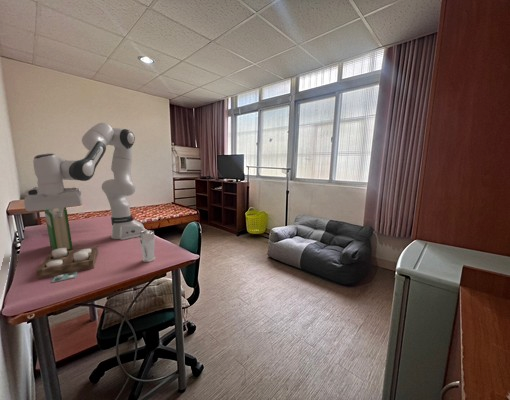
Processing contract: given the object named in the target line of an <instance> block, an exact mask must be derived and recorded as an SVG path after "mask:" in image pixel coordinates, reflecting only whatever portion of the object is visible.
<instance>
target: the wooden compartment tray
mask: <svg viewBox="0 0 510 400" xmlns="http://www.w3.org/2000/svg"><path fill="white" fill-rule="evenodd" d="M82 249H83V248H79V249H74V250H67V256H65V257H61V258H55V259H54V258H53V256H52V253H50V254H49V255H47V257H46V258H45V260H44V261H43V262H42V263H41V265H40V266H39V267H38V268H37V269H36V274H37V275H36V276H37V280H39V278H41V279H45V277H46V278H52V277H55V276H56V275H61V274H67V273H71V272H77V271H78V272H81V271H86V270H91V269H94V268H95V266H96V263H97V259H98V256H99V248H98V246H93V247H87V248H84V249H91V251H92V252H91V253H88V255H89V259H87V260H85V261H79V262H75V261H74V255H73V254H74V253H76V252H78V251H80V250H82ZM54 260H62V261H63V264H62V265H57V266H51V267H47V265H46V264H47V263H48V262H50V261H54Z"/></svg>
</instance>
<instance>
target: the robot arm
mask: <svg viewBox="0 0 510 400" xmlns="http://www.w3.org/2000/svg"><path fill="white" fill-rule="evenodd" d="M135 137H136V136H135V134H134V133H133V131H132V130H130V129H127V128H120V127H112V126H111V125H109V124H108V123H106V122H99V123H97V124H95V125H93V126H91V127H90V128H89V129H88V130H87V131H86V132H85V133H84V134H83V136H82V138H81V142H82V145H83V146H84V148H85V149H86V150H88V152H87V153H86V155H85V156H84V158H82V159H81V158H80V159H76V160H67V159H65V158H61V157H59V156H57V155H56V154H55V153H43V154H38V155H36V156H34V157H33V161H32V162H33V163H32V164H33V170H34V174H35V176H36V178H37V186H35V187H32V188H30V189H27V190H25V191H24V195H25V197H24V201H23V202H24V203H23V204H24V210H25V211H27V212H37V211H44V210H47V209H49V212H50V213H51V214H52V215H53V217H54V218H59V217H62V212H63V210H64V208H65V209H66V208H72V207H73V208H74V207H75V208H76V207H80V206H82V204H83V199H82V197H81V195H82V191H81V189H80V188H78V187H75V186H74V187H65V185H64V181H82V182H86V181H89V180H91V179H92V178H93V177H94V175H95V171H96V169H97V166H98V165H99V163H100V162H101V160H102V158H103V156H104V155H105V153H106V151H107V147H108V146H113V147H114V150H113V153H112V154H113V155H112V160H111V165H110V166H111V168H110V170H111V171H112V173H113V174H112V175H113V178H111V179H106V180H105V181H103V182H102V184H101V190H102V192H103V193H104V194H105V195H106V198H107V200H108V203H109V206H110V212H111V217H110V222H111V225H112V226H111V227H112V232H111V236H110V237H111V239H113V240H121V241H123V240H129V239H134V238H138V237H139V238H140V232H142V231H147V230H148V229H145V226H144V224H143V223H142V222H140V221H138V220H136V217H135V215H133V214H131V206H130V203H129V202H128V200H127V199H126V197H129V196H132V195H133V194H135V192H136V185H135V183H134V182H133V180H132V176H131V168H132V162H133V161H132V160H133V148H132V147H133V145H134V143H135V142H136V141H135V140H136V138H135ZM57 208H59V210H61V211H60V213H57V214H56V213H55V212H53V210H54V209H57Z"/></svg>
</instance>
